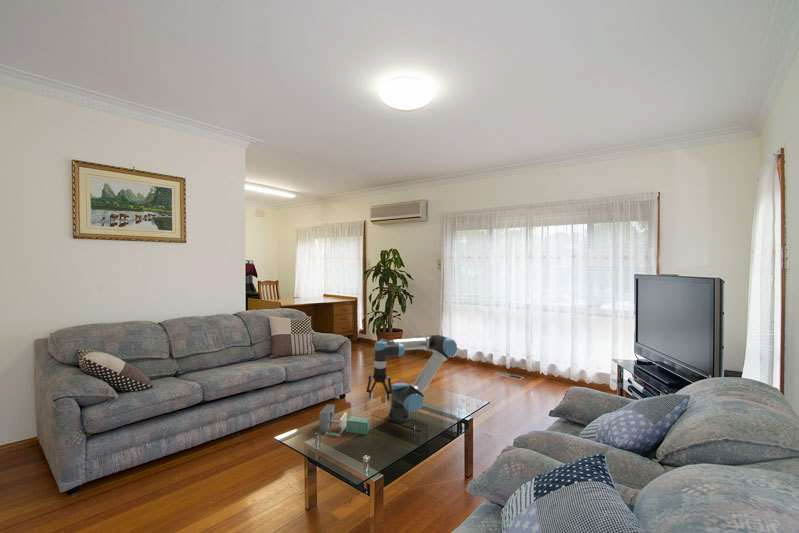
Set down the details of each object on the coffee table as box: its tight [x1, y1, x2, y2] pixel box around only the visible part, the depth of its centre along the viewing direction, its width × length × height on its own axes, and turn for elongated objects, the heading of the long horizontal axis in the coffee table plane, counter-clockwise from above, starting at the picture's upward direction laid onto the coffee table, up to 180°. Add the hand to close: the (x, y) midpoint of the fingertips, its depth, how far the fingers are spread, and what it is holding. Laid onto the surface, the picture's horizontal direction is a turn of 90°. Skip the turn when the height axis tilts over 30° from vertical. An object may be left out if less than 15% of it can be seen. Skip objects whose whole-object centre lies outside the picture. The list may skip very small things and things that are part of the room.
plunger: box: [330, 411, 348, 434], centre depth 226 cm, size 13×16×8 cm
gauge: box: [318, 403, 342, 437], centre depth 227 cm, size 14×16×12 cm
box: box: [345, 415, 371, 436], centre depth 226 cm, size 7×14×8 cm, turn 79°
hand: (378, 404), depth 225 cm, fingers open, 8 cm apart
